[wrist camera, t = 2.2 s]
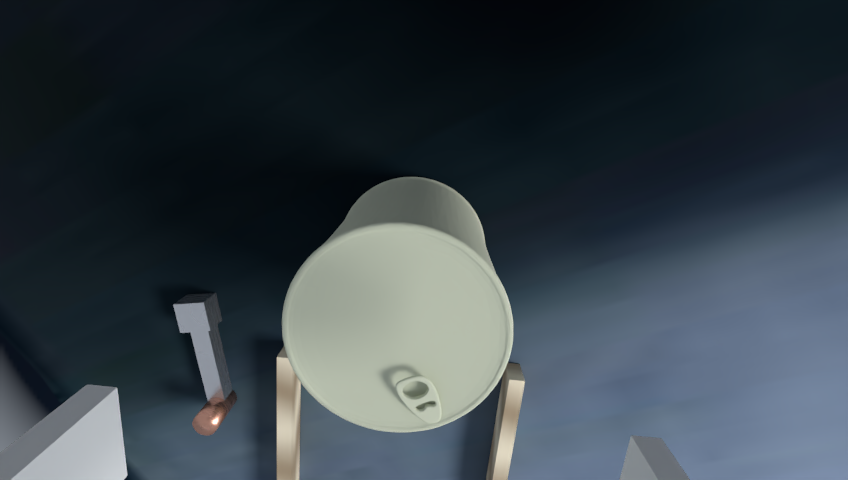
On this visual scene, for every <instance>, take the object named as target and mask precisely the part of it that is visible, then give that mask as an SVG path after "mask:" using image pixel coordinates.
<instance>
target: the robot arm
mask: <svg viewBox="0 0 848 480" xmlns="http://www.w3.org/2000/svg"><path fill="white" fill-rule="evenodd" d="M126 476H127V468H126V460H125V451H124V442H123V434H122V425H121V417H120V408H119V399H118V391H117V387H107V386H96V385H86V386H85V387H83V388H82V389H81V390H80V391H78V392H77V393H76V394H74V395H73V396H72V397H71V398H69V399H68V400H67V401H66V402H64V403H63V404H62V405H60V406H59V407H58V408H57V409H55V410H54V411H53V412H52V413H50V414H49V415H48V416H46V417H45V418H44V419H43V420H41V421H40V422H39V423H37V424H36V425H35V426H34V427H32V428H31V429H30V430H29V431H27V432H26V433H25V434H24V435H22V436H21V437H20V438H18V439H17V440H16V441H15V442H13V443H12V444H11V445H10V446H8V447H7V448H6V449H4V450H3V451H2V452H1V453H0V480H124V479H125V478H126ZM620 480H690V479H689V478H688V476H687V475H686V473H685V472H684V470H683V469H682V467H681V466H680V465H679V463H678V462H677V460H676V459H675V457H674V456H673V455H672V453H671V452H670V450H669V449H668V447H667V446H666V444H665V443H664V442H663V440H662V439H661V438H653V437H642V436H632V435H631V439H630V442H629V446H628V450H627V454H626V458H625V461H624V465H623V469H622V473H621V477H620Z"/></svg>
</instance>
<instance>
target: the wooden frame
mask: <svg viewBox="0 0 848 480" xmlns="http://www.w3.org/2000/svg"><path fill="white" fill-rule="evenodd" d="M524 384H525V380H524V377H523V374H522V370H521V367H520V364H514V363H507V366H506V368H505V370H504V373H503V377H502V383H501V390H500V396H499V402H498V408H497V414H496V420H495V426H494V433H493V439H492V445H491V451H490V457H489V463H488V470H487V476H486V480H507V478H508V473H509V467H510V462H511V456H512V450H513V445H514V439H515V434H516V428H517V423H518V417H519V411H520V406H521V400H522V395H523V389H524ZM300 396H301V382H300V381H299V379H298V377H297V376H296V374H295V372H294V370H293V368H292V366H291V364H290V362H289V360H288V357H287V354H286V350H285V347H283V348H282V350H281V351H280V353H279V354H278V356H277V480H299V456H300Z"/></svg>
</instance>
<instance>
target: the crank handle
mask: <svg viewBox="0 0 848 480" xmlns="http://www.w3.org/2000/svg"><path fill="white" fill-rule="evenodd" d="M173 306H174V310H175V314H176V318H177V322H178V326H179V330H180V333H188V332H190V333H191V337H192V341H193V345H194V349H195V353H196V357H197V361H198V365H199V369H200V373H201V377H202V381H203V385H204V389H205V393H206V396H207V400H208V402H207V403H206V404H205V405H204V407H203V408H202V409H201V410H200V412H199V413H198V414H197V416H196V417H195V418H194V420H193V427H194V429H195V430H196V431H197V432H198V433H199V434H202V435H211V434H213V433H214V432H215V431H216V430H217V428H218V427H219V426H220V424H221V423H222V421H223V420H224V418H225V417H226V415H227V414H228V413H229V411H230V410H231V408H232V407H233V405H234V404H235V402H236V400H237V396H236V393H235V392H234V391H233V390H232V386H231V382H230V377H229V373H228V369H227V364H226V360H225V356H224V352H223V347H222V343H221V339H220V334H219V330H218V326H217V324H218V323H219V322H220V321H221V320H222V318H221V313H220V309H219V305H218V300H217V296H216V293H203V294H188V295H185V296H184V297H183V298H181V299H180V300H179V301H177V302H176V303H175V304H173Z"/></svg>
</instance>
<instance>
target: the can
mask: <svg viewBox="0 0 848 480" xmlns="http://www.w3.org/2000/svg"><path fill="white" fill-rule="evenodd" d="M282 336H283V342H284V347H285V350H286V354H287V357H288V360H289V362H290V364H291V366H292V368H293V370H294V372H295V374H296V376H297V377H298V379H299V381H300V382H301V383H302V385H303V386H304V387H305V388H306V390H307V391H308V392H309V393H310V394H311V395H312V396H313V397H314V398H315V399H316V400H317V401H318V402H319V403H320V404H322V405H323V406H324V407H326V408H327V409H328V410H330V411H331V412H333V413H334V414H336V415H338V416H339V417H341V418H343V419H345V420H347V421H350V422H352V423H354V424H357V425H360V426H363V427H366V428H369V429H374V430H379V431H386V432H415V431H423V430H428V429H433V428H436V427H439V426H442V425H445V424H447V423H450V422H452V421H454V420H456V419H458V418H460V417H461V416H463V415H465V414H467V413H468V412H470V411H471V410H472V409H474V408H475V407H476V406H477V405H479V404H480V403H481V402H482V401H483V400H484V399H485V398H486V397H487V396H488V395H489V394H490V392H491V391H492V390H493V389H494V387H495V386H496V385H497V383H498V381H499V380H500V378H501V376H502V375H503V373H504V370H505V368H506V366H507V363H508V360H509V357H510V353H511V349H512V343H513V317H512V312H511V307H510V303H509V300H508V296H507V294H506V292H505V289H504V287H503V285H502V283H501V281H500V280H499V278H498V276H497V275H496V272H495V270H494V267H493V265H492V262H491V259H490V257H489V254H488V251H487V248H486V246H485V238H484V232H483V228H482V226H481V223H480V220H479V218H478V216H477V214H476V213H475V211H474V209H473V208H472V207H471V205H470V204H469V203H468V202H467V201H466V200H465V199H464V198H463V196H461V195H460V194H459V193H458V192H456V191H455V190H454V189H452V188H450V187H449V186H447V185H445V184H443V183H440V182H438V181H435V180H431V179H427V178H422V177H401V178H395V179H391V180H388V181H385V182H382V183H380V184H378V185H376V186H374V187H373V188H371V189H370V190H368V191H367V192H366V193H364V194H363V195H362V196H361V197H360V198H359V199H358V200H357V201H356V202H355V204H354V205H353V206H352V208H351V209H350V211H349V212H348V214H347V216H346V218H345V220H344V221H343V223H342V224H341V225H340V226H339V227H338V228H337V230H336V231H335V232H334V233H333V234H332V235H331V236H330V238H329V239H328V240H327V241H326V242H325V243H324V244H323V245H322V246H320V247H319V248H318V249H317V250H316V251H314V252H313V253H312V254H311V255H310V256H309V257H308V258H307V260H306V261H305V262H304V263H303V265H302V266H301V267H300V269H299V270H298V271H297V273H296V275H295V277H294V278H293V280H292V282H291V284H290V287H289V289H288V292H287V295H286V298H285V302H284V307H283V314H282Z"/></svg>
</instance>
